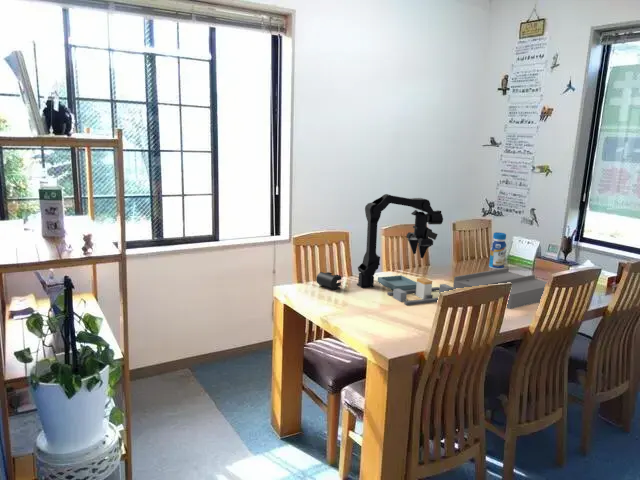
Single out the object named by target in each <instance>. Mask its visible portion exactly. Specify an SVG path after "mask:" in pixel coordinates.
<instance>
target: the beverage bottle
mask: <svg viewBox="0 0 640 480" xmlns="http://www.w3.org/2000/svg"><path fill="white" fill-rule="evenodd" d="M492 238H493V240H492V242H491V244H490V245H491V247H490V249H489V251H490V253H489V261H488V268H490V269H492V270H497V269H503V268H505V262H506V252H507V243H506V241H505V240H506V239H507V234H506V233H505V232H493V236H492Z"/></svg>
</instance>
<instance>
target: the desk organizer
mask: <svg viewBox="0 0 640 480" xmlns="http://www.w3.org/2000/svg"><path fill="white" fill-rule="evenodd" d="M509 269H510V268H509V267H504V268H503V269H492V270H487V271H480V272H475V273H468V274H462V275H457V276H454V278H453V286H452V287H453V289H456V288H464V287H472V286H479V285H488V284H498V283H507V282H511V283H512V289H511V292H510V296H509V300H508V304H507V308H506V309H508V310H512V309H516V308H520V307H524V306H528V305H532V304H537V303H541V302H540V299H541V296H542V294H543V291H544V287H545V284H546V283H547V282H548V281H544V280H541V279H537V278H536V274H530V275H523V274H519V273H516V272H511V271H509Z"/></svg>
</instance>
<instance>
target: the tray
mask: <svg viewBox="0 0 640 480" xmlns="http://www.w3.org/2000/svg"><path fill="white" fill-rule="evenodd" d="M378 282H379V283H378ZM377 283H378V284H380V283H381V284H380V285H382V286H384V287H386V288H387V289H390V290H392V291H394V289H401V290H412V289H416V284H417V281H414V280H413V279H410V278H408V277H406V276H404V275H402V274H401V275H390V276H378V277H377Z"/></svg>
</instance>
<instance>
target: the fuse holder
mask: <svg viewBox="0 0 640 480" xmlns="http://www.w3.org/2000/svg"><path fill="white" fill-rule="evenodd" d="M436 290H439V292H438V293H439V294H441V293H440V292H444V291H449V290H453V286H450V285H449V284H446V283H442V284H441V283H440V284H439V286H432V291H431V292H437V291H436ZM453 291H454V290H453ZM386 294H387V295H388V296H391V297H392V298H393V299H395V300H397V301H398V302H399V303H401V302H402V303H403V302H404V304H403V305H405V306H414V305H420V304H430V303H438V302H437V300H438V297H434V295H433V294H431V295H426V299H422V298H420V299H413V300H407V296H408V295H410V294H414V295H415V296H416V289H412V290H401V289H394V291H393V290H392V291H387V293H386Z"/></svg>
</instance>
